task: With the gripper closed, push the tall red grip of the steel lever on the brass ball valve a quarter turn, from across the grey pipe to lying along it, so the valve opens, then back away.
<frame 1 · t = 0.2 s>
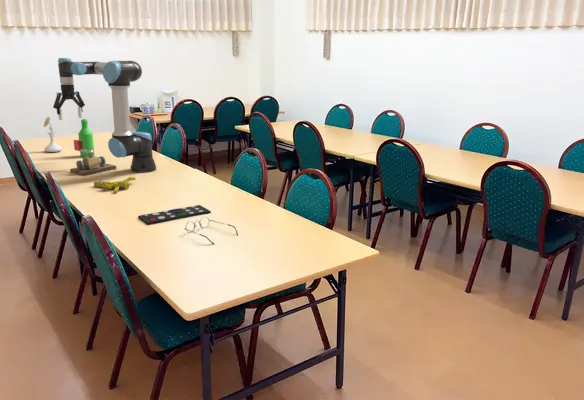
hand: (70, 118, 314), 28 cm above the table, tool pointing down, fingers open, 13 cm apart
flower in vase: (53, 152, 351), on the table
valve board: (91, 171, 301), on the table
yellow toy lizard: (113, 188, 270), on the table
lever: (83, 146, 300), point 14 cm above the table, hinge at 0.0°
bottle: (87, 156, 340), on the table
remote control: (175, 216, 229), on the table
eyeglasses: (211, 235, 207), on the table
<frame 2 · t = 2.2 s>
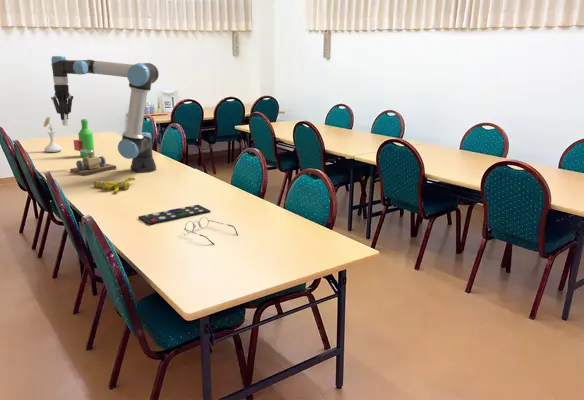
hand: (65, 125, 293), 27 cm above the table, tool pointing down, fingers closed
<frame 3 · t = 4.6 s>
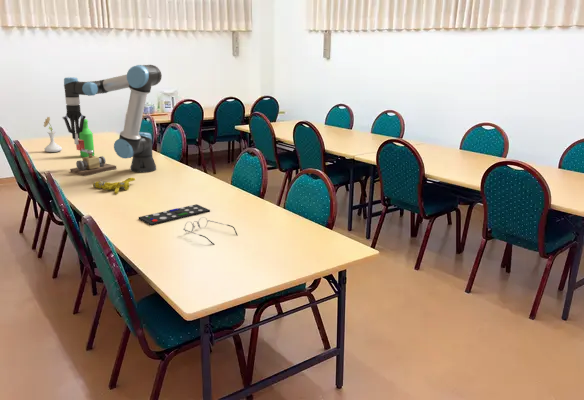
hand: (76, 144, 301), 15 cm above the table, tool pointing down, fingers closed
lever: (84, 146, 300), point 14 cm above the table, hinge at 6.4°, touching gripper
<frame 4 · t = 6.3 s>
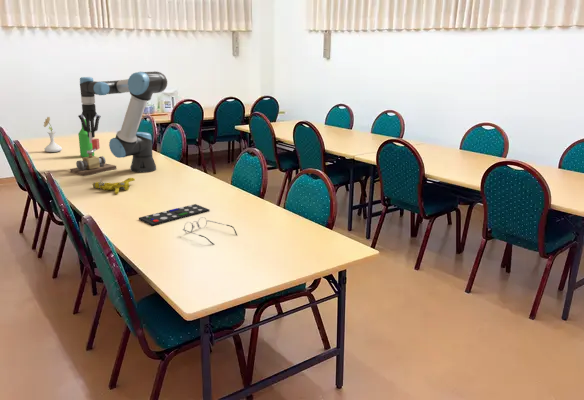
hand: (91, 142, 307), 15 cm above the table, tool pointing down, fingers closed
lever: (92, 146, 302), point 14 cm above the table, hinge at 53.6°, touching gripper
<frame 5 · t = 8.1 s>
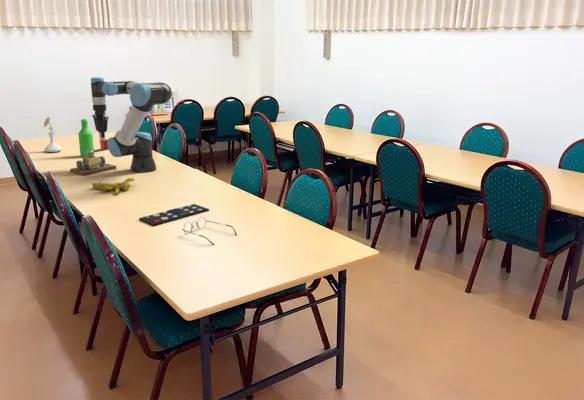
hand: (102, 142, 307), 15 cm above the table, tool pointing down, fingers closed
lever: (97, 146, 302), point 14 cm above the table, hinge at 87.4°, touching gripper
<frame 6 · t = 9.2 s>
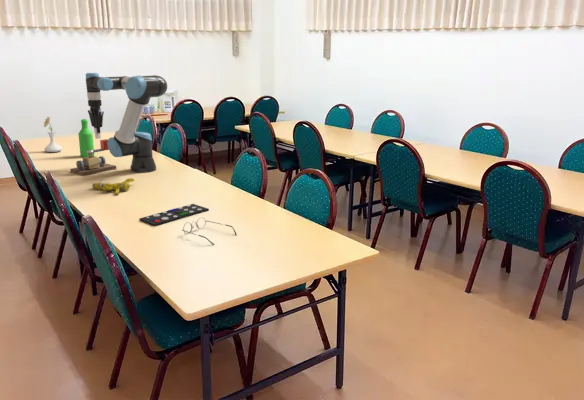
hand: (98, 138, 308), 18 cm above the table, tool pointing down, fingers closed
lever: (97, 146, 302), point 14 cm above the table, hinge at 87.4°
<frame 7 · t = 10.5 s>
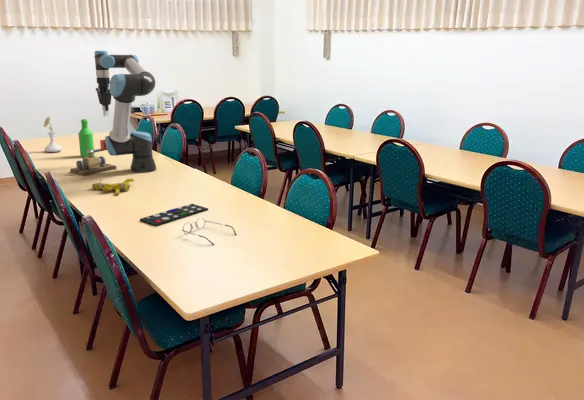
hand: (106, 115, 312), 30 cm above the table, tool pointing down, fingers closed
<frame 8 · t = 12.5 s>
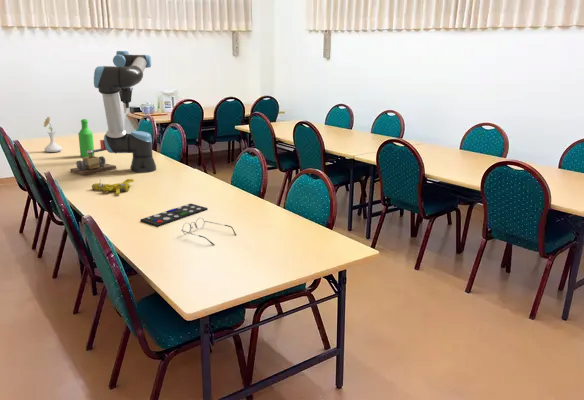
hand: (126, 112, 329), 30 cm above the table, tool pointing down, fingers closed
at the end: lever at +87° (first picture: +0°); bottle moved 0.2 cm from its start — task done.
